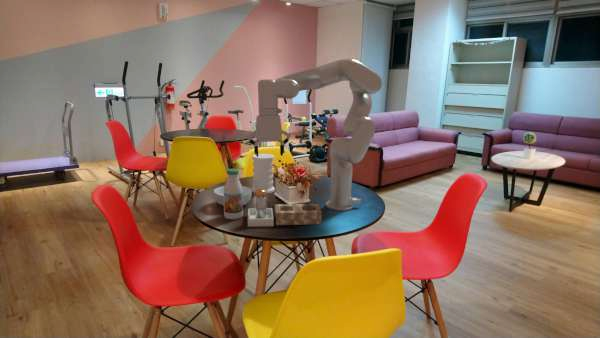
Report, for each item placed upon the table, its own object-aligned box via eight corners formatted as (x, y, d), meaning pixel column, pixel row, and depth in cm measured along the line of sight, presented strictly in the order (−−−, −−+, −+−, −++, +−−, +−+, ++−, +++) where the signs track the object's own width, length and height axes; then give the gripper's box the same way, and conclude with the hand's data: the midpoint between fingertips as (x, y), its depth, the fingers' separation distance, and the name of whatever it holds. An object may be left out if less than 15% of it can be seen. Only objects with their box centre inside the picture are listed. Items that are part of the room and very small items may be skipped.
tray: (272, 214, 156) (272, 208, 156) (273, 226, 145) (273, 218, 144) (248, 215, 155) (248, 208, 154) (247, 226, 144) (247, 219, 143)
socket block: (317, 214, 158) (317, 201, 156) (321, 224, 148) (321, 209, 147) (274, 215, 156) (274, 202, 154) (276, 225, 146) (276, 210, 145)
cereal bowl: (249, 212, 159) (249, 196, 157) (210, 211, 159) (209, 195, 157) (253, 199, 175) (253, 185, 173) (218, 198, 175) (218, 184, 173)
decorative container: (249, 193, 184) (248, 157, 179) (254, 186, 195) (254, 153, 191) (272, 194, 183) (272, 159, 178) (276, 187, 194) (276, 154, 189)
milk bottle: (220, 216, 154) (219, 169, 149) (235, 211, 159) (235, 166, 154) (231, 221, 148) (230, 173, 143) (246, 216, 154) (246, 170, 149)
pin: (265, 216, 152) (265, 188, 149) (265, 220, 148) (266, 191, 145) (255, 216, 152) (255, 188, 149) (255, 220, 148) (255, 191, 145)
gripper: (289, 110, 148) (289, 152, 152) (245, 111, 146) (247, 154, 150) (291, 113, 141) (292, 156, 145) (245, 113, 139) (247, 158, 143)
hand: (269, 155), depth 148 cm, fingers open, 9 cm apart
